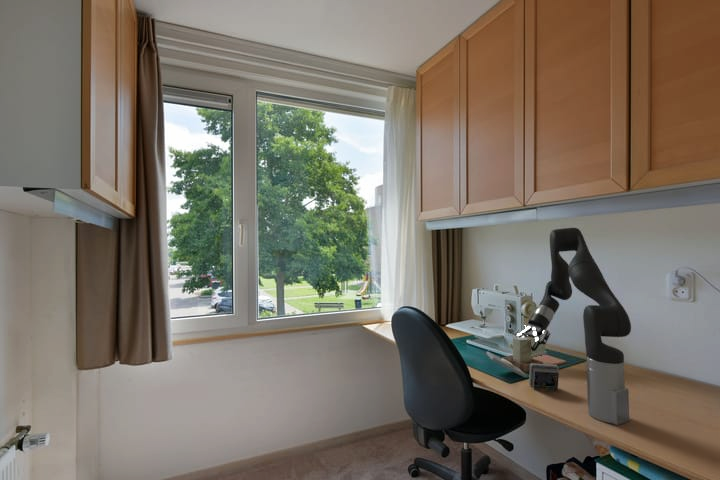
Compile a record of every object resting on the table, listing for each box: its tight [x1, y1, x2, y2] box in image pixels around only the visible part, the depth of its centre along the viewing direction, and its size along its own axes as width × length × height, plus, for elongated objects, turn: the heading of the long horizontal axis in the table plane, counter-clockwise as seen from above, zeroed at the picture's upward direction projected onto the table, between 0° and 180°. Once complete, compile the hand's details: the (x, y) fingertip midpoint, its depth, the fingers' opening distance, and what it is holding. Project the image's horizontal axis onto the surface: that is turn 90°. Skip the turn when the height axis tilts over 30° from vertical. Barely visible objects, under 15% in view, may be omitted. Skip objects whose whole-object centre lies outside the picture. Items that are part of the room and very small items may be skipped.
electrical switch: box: [528, 363, 560, 392], centre depth 121 cm, size 9×5×9 cm, turn 75°
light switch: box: [486, 351, 527, 379], centre depth 136 cm, size 8×6×14 cm
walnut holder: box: [502, 354, 543, 374], centre depth 144 cm, size 12×10×3 cm
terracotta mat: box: [532, 354, 567, 366], centre depth 151 cm, size 12×12×1 cm
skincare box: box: [512, 336, 532, 363], centre depth 144 cm, size 6×4×12 cm
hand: (523, 347), depth 145 cm, fingers open, 8 cm apart
